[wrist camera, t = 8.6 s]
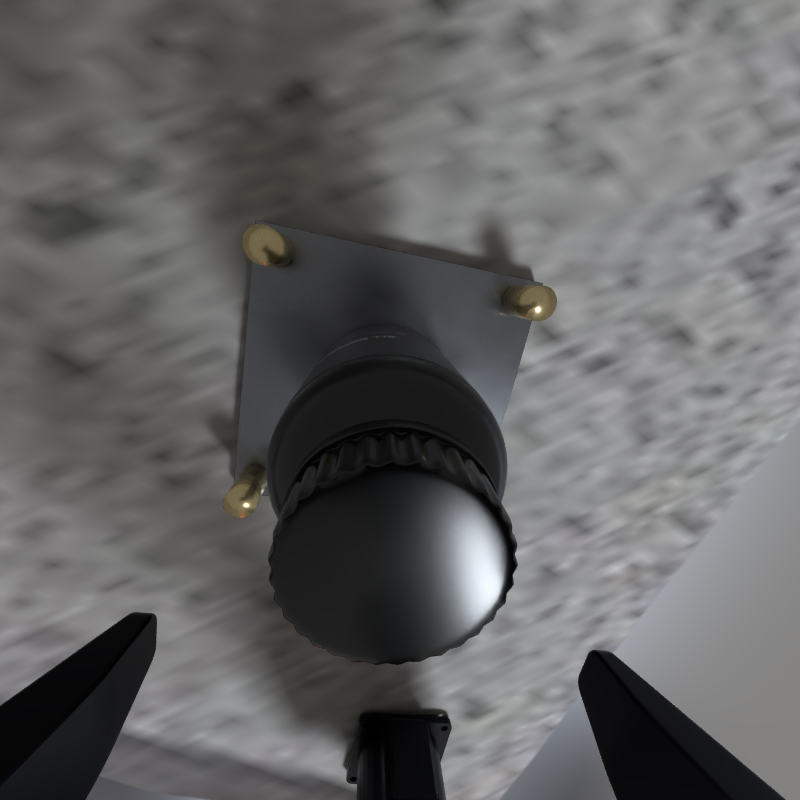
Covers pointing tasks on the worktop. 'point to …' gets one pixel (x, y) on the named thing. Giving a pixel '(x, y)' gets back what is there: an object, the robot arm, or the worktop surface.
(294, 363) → the chassis plate
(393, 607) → the supplement bottle
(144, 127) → the worktop surface
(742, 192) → the worktop surface
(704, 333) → the worktop surface
